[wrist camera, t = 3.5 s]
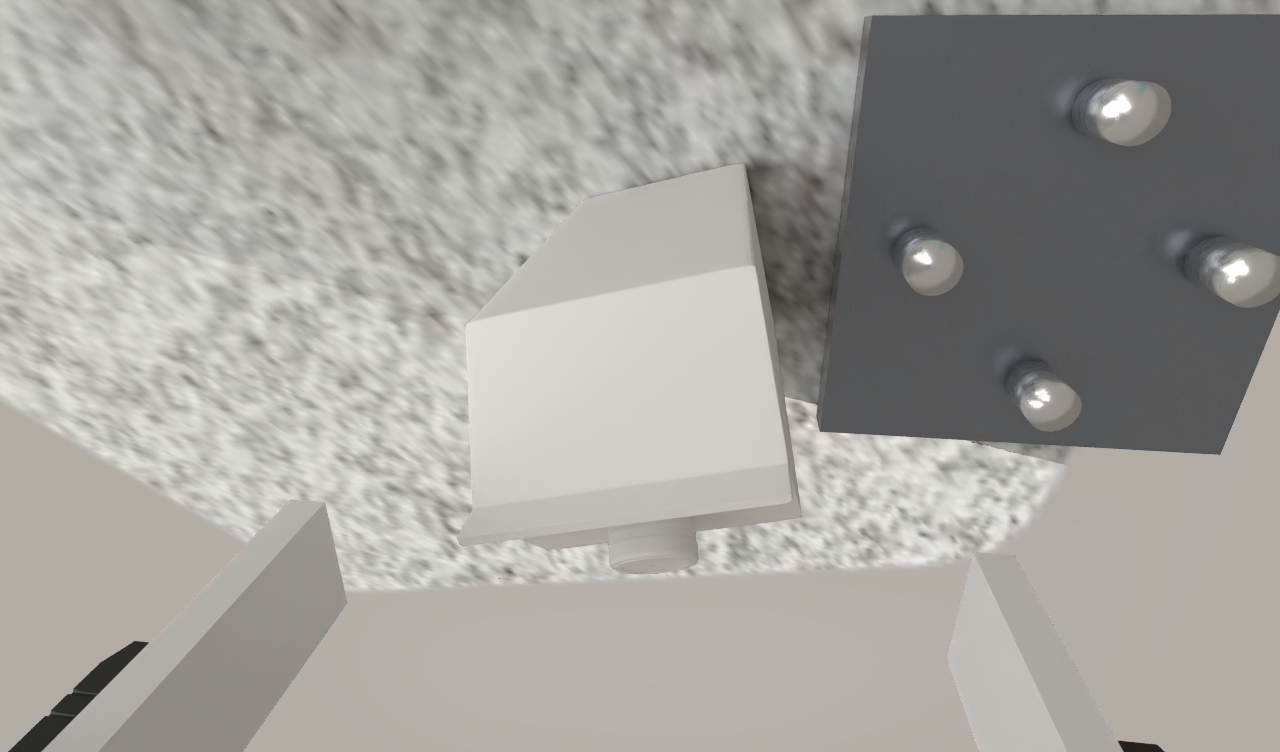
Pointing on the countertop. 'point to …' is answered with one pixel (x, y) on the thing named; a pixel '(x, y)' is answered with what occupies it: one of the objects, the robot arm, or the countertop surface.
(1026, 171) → the plate
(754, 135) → the countertop surface
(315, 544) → the robot arm
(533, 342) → the milk carton
